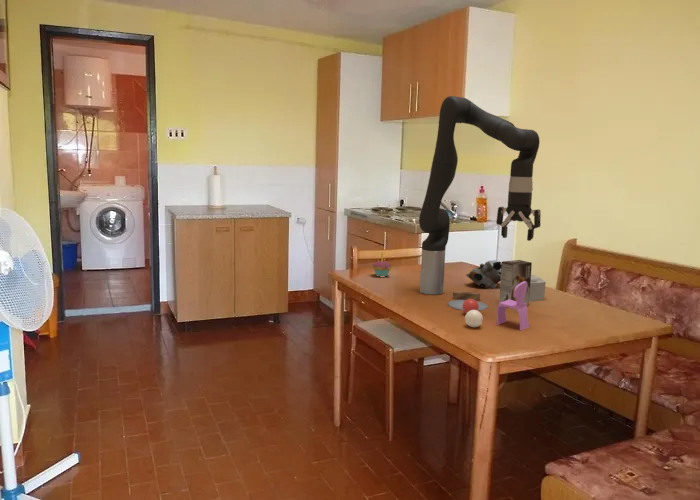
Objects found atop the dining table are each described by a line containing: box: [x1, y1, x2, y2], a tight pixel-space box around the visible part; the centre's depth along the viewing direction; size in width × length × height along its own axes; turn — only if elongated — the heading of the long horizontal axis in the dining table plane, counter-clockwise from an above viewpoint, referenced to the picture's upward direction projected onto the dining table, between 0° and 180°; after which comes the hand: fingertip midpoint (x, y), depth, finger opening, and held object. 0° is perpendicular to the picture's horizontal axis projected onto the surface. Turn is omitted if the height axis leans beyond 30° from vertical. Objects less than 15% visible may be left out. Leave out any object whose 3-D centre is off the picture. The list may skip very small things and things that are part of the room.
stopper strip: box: [452, 291, 481, 302], centre depth 208 cm, size 10×2×2 cm, turn 82°
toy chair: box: [496, 281, 530, 331], centre depth 175 cm, size 8×9×15 cm
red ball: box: [462, 299, 479, 315], centre depth 187 cm, size 6×6×6 cm
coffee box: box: [498, 259, 533, 306], centre depth 200 cm, size 9×6×16 cm
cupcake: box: [371, 250, 392, 277], centre depth 243 cm, size 9×8×12 cm
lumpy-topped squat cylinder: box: [529, 274, 547, 302], centre depth 212 cm, size 10×13×9 cm
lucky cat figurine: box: [466, 259, 502, 290], centre depth 229 cm, size 15×12×14 cm
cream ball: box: [464, 310, 484, 328], centre depth 173 cm, size 6×6×6 cm
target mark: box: [447, 299, 488, 312], centre depth 199 cm, size 14×14×1 cm
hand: (516, 239), depth 184 cm, fingers open, 8 cm apart
